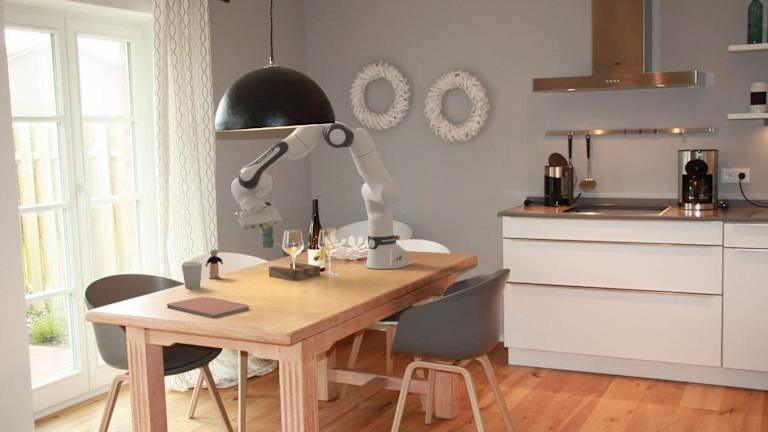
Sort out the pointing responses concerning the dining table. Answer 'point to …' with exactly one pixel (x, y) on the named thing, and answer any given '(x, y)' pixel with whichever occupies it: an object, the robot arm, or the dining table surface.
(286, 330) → the dining table surface
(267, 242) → the teal drink can
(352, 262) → the dining table surface
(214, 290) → the dining table surface
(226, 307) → the notebook
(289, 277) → the dark brown square block
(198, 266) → the dixie cup
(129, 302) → the dining table surface
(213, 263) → the grandmother figurine
